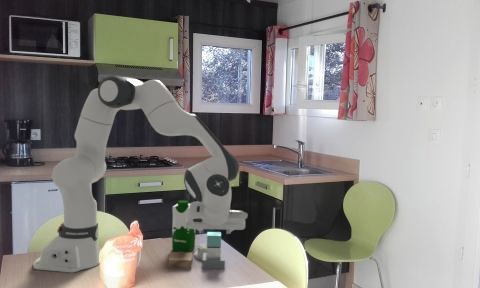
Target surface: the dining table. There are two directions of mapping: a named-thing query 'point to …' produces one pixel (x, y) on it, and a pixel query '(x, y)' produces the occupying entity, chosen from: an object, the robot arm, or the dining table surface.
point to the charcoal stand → (213, 262)
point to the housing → (213, 245)
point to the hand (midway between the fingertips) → (214, 231)
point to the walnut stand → (180, 260)
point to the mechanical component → (201, 251)
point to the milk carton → (182, 228)
